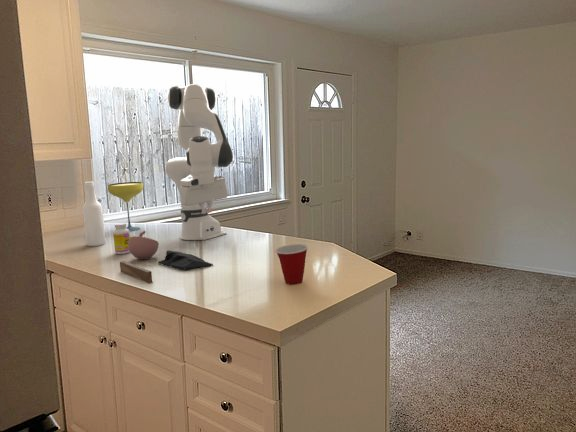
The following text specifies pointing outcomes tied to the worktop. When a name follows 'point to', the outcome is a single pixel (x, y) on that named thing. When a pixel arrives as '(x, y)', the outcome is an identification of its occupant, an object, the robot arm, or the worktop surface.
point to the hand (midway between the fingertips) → (206, 213)
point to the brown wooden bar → (136, 272)
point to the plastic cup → (292, 262)
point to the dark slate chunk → (183, 261)
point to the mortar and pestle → (142, 246)
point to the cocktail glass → (126, 194)
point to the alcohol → (93, 218)
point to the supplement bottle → (121, 238)
